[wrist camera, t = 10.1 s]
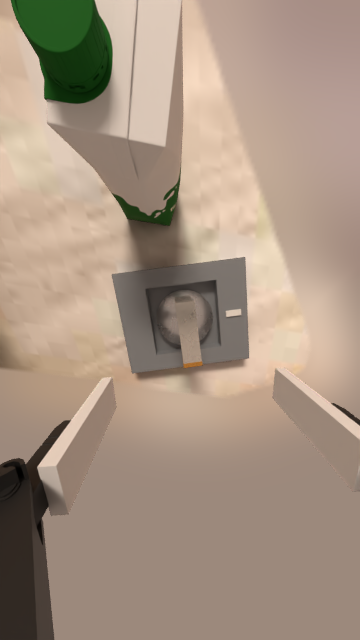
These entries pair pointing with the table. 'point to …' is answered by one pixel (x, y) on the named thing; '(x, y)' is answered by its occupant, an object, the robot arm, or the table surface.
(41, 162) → the table surface
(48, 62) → the milk carton
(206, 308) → the dial
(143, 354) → the panel
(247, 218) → the table surface
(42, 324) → the table surface
